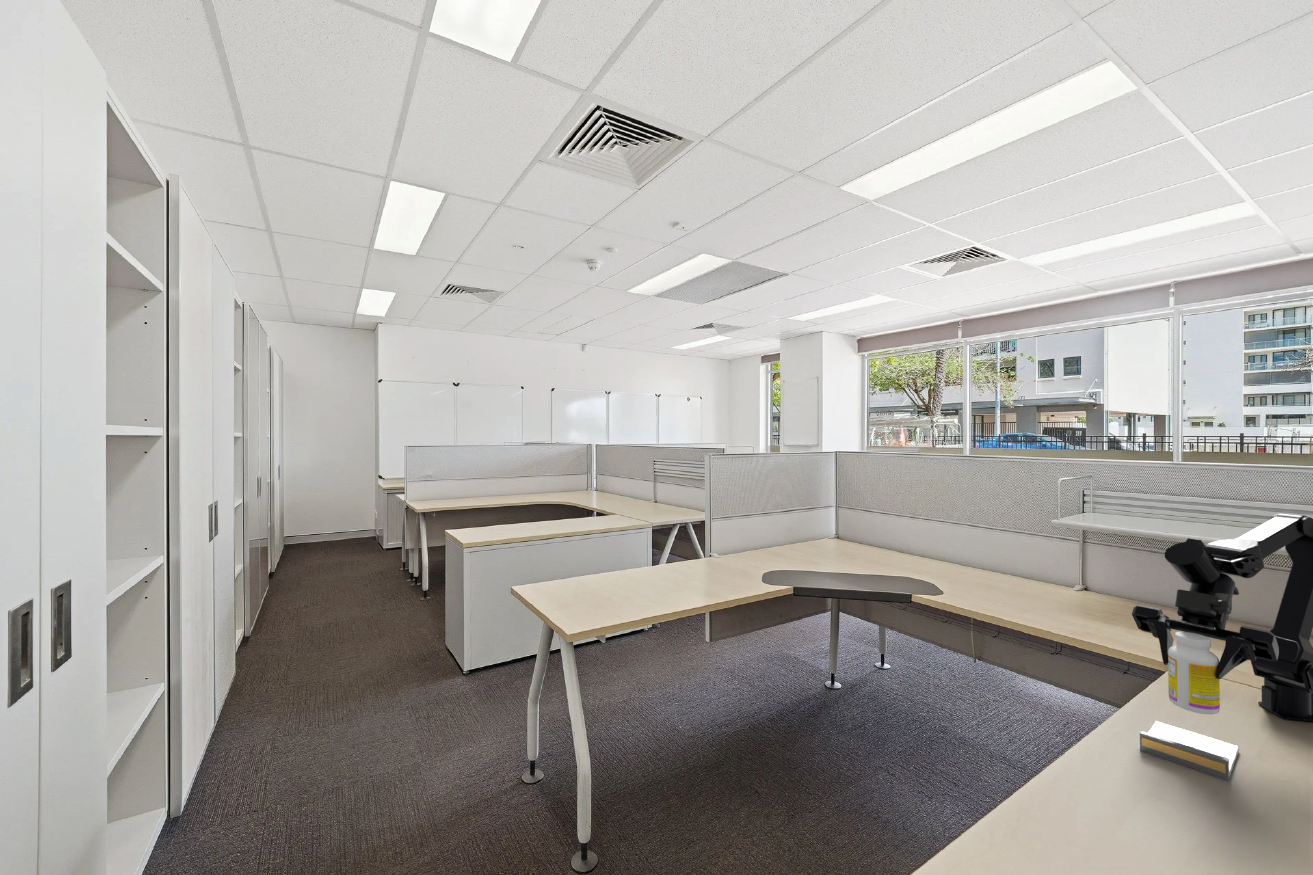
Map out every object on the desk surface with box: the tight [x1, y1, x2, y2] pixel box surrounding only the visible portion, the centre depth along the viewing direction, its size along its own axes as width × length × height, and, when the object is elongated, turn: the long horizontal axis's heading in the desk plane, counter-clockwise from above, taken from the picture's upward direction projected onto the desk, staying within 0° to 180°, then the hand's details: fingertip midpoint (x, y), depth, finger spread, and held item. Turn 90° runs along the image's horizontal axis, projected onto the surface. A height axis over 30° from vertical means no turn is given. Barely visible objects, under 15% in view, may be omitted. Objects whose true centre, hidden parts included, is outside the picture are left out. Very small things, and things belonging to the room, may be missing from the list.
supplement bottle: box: [1167, 631, 1221, 716], centre depth 99 cm, size 7×7×13 cm
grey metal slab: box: [1139, 720, 1240, 781], centre depth 97 cm, size 13×11×3 cm
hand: (1190, 670), depth 98 cm, fingers closed on supplement bottle, 7 cm apart
